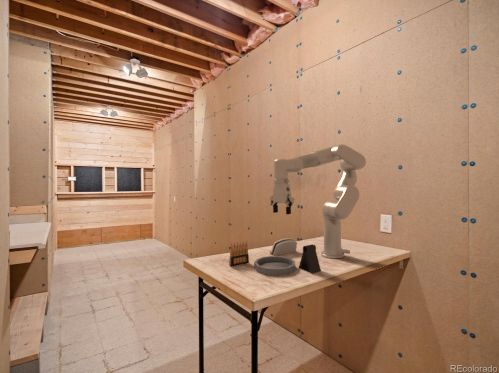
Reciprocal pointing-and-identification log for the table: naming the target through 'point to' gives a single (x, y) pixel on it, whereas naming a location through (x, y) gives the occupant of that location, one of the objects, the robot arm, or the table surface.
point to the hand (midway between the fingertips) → (281, 213)
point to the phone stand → (309, 259)
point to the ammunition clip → (238, 254)
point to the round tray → (274, 265)
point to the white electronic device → (284, 246)
